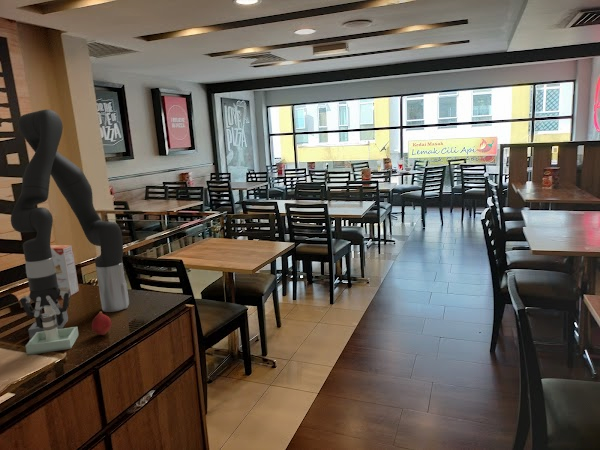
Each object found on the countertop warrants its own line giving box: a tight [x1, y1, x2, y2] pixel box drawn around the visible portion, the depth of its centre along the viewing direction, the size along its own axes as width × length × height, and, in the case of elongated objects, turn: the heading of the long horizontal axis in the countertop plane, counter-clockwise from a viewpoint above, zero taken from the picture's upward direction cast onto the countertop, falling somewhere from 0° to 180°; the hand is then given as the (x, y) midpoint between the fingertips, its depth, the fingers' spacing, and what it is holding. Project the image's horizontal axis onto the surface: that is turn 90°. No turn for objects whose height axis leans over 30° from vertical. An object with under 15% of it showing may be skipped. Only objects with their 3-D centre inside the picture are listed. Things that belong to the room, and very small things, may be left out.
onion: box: [91, 311, 113, 336], centre depth 141 cm, size 6×6×8 cm
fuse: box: [43, 305, 56, 318], centre depth 152 cm, size 4×4×9 cm
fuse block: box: [28, 309, 69, 341], centre depth 149 cm, size 8×14×4 cm, turn 14°
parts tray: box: [25, 326, 80, 356], centre depth 137 cm, size 12×10×3 cm
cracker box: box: [50, 244, 80, 297], centre depth 184 cm, size 14×6×21 cm, turn 81°
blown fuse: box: [41, 313, 60, 342], centre depth 136 cm, size 4×4×9 cm
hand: (50, 325), depth 136 cm, fingers open, 4 cm apart
